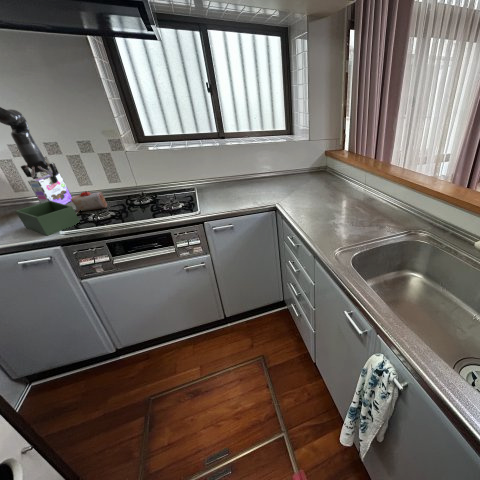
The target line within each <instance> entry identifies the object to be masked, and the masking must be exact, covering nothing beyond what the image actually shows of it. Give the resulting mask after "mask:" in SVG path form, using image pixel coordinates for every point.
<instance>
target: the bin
mask: <svg viewBox="0 0 480 480" xmlns="http://www.w3.org/2000/svg"><path fill="white" fill-rule="evenodd" d="M14 212H15V214H16V215H17V216H18V218H19V219H20V221H21V222H22V224H23V226H24V227H25V228H26V229H27V230H31V231H33V232H36V233H39V234H42V235H44V236H47V237H48V236H52V235H54V234H56V233H58V232H61V230H62V231H64V230H67V229H69V227H70V228H72V226H73V227H75V226H77V225H76V224H77V223H79V222H80V223H81V220H80V219H79V217H78V215H77V213H76V212H75V209H74V208H73V206H72V205H67V204H65V205H64V204H61V203H57V202H54V201H47V202H44V203H40V202H39V203H36V204H33V205H30V206H26V207H24V208H19V209H16V210H15V211H14ZM74 225H75V226H74ZM66 228H67V229H66ZM63 229H64V230H63Z"/></svg>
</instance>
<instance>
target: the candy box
mask: <svg viewBox="0 0 480 480" xmlns="http://www.w3.org/2000/svg"><path fill="white" fill-rule="evenodd" d="M56 178H57V179H58V181H57V183H54V182H53V180H52V178H51V176H50V175H49V174H46V175H43V176H40V177H38V178H36V179H33V178H32V179H29V180H27V183H28V184H29V185H30V188H31V189H32V191H33V193H34V195H35V196H36V198H37V200H38V202H39V204H40V203H44V202H47V201H54V202H57V203H61V204H64V205H67V204H69V203H72V201H71V198H72V197H73V196H72V194H71V191H70V190H69V189H68V186H67V184H66V183H65V180H64V178H63V176H62V175H61V173H58V174H57V175H56Z"/></svg>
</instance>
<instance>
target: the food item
mask: <svg viewBox="0 0 480 480" xmlns="http://www.w3.org/2000/svg"><path fill="white" fill-rule="evenodd" d="M71 203H72V204H73V205H74V207H75V209H76V211H77V212H78V213H80V212H79V211H80V210H82V211H84V212H89V211H94V210H95V211H96V210H102V209H106V208H107V207H108V203H107V201H106V199H105V197H104V194H103V192H102V191H97V192H90V191H88V190H85V191H83V192H81V193H80V194H78V195H73V196H72V198H71Z"/></svg>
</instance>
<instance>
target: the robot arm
mask: <svg viewBox="0 0 480 480" xmlns="http://www.w3.org/2000/svg"><path fill="white" fill-rule="evenodd" d="M0 123H1V124H3V125H5V126H9V127H10V128H11V132H10V135H11V138H12V139H13V141H14V143H15V145H16V147H17V150H18V151H19V154H20V156H22V159H23V160H24V162H25V163H26V164H23V165H21V166H20V169H21V170H22V172H23V174H24V175H25V176H26V178H32V180H33V179H36V178H39V176H38V173H45V174H46V175H50V176H51V178H52V180H53V182H54V183H57V181H58V179H57V178H56V175H57V174H60V173H59V169H58V168H57V166H56V164H55V163H54V162H50V163H49V162H47V161H46V159H45V157H44V155H43V154H42V152H41V149H40V147H39V146H38V144H37V143H36V142H35V139H34V138H33V136H32V134H31V131H30V128H29V124H28V121H27V119H26V118H25V116H24V115H23V113H22V112H20V111H18V110H16V109H12V108H11V109H5V108H4V107H1V106H0ZM30 170H31V171H30Z"/></svg>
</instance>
